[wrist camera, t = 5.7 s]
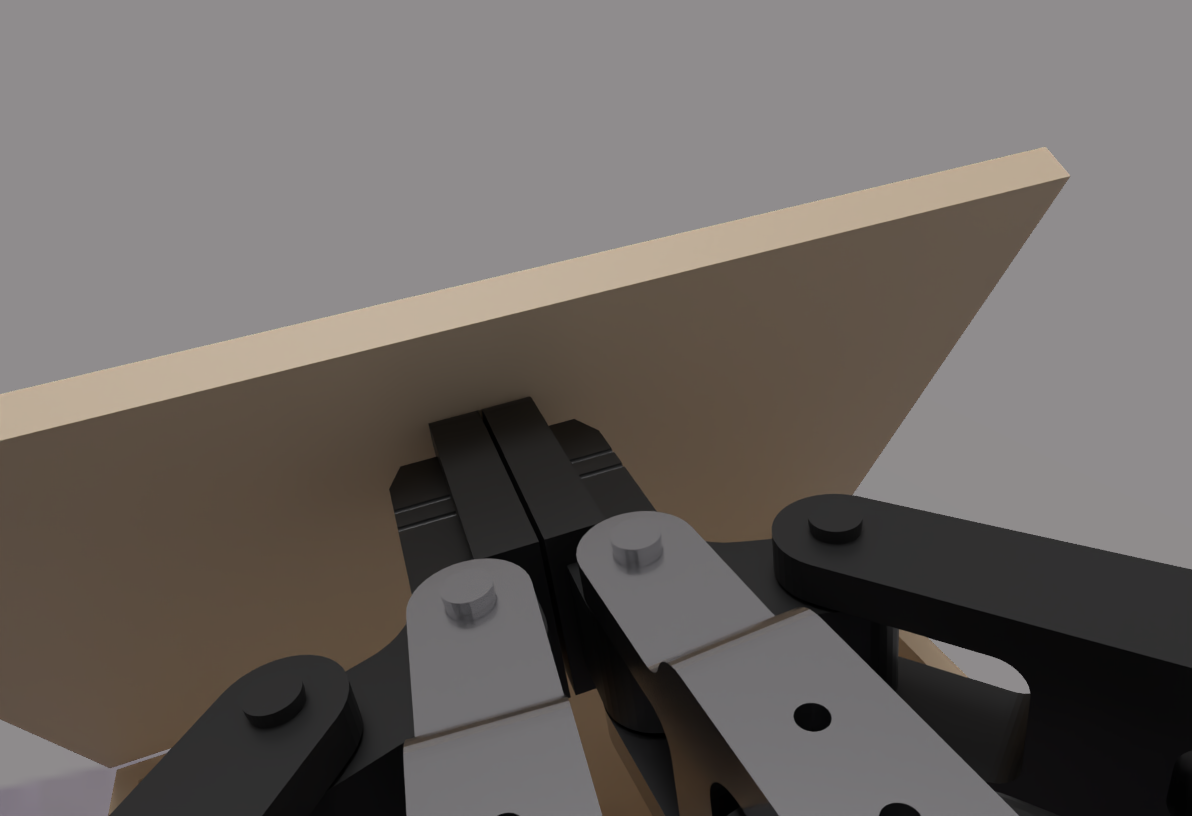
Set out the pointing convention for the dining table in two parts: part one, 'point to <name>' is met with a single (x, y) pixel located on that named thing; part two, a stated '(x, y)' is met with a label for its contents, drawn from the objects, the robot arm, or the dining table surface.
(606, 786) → the mailer box
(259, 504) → the lid
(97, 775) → the dining table surface
